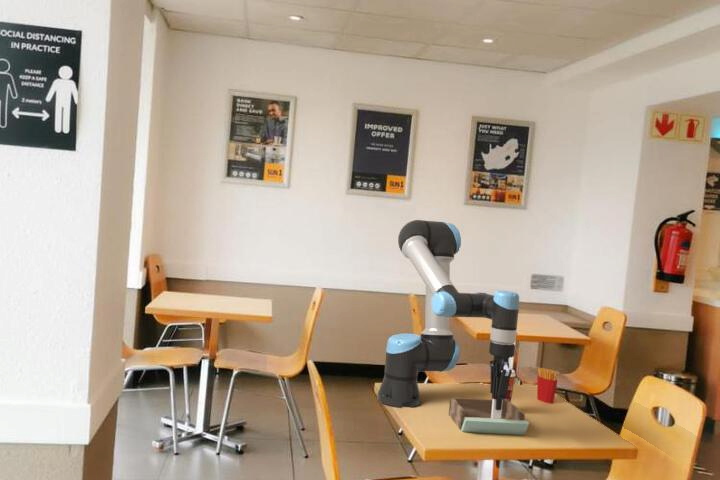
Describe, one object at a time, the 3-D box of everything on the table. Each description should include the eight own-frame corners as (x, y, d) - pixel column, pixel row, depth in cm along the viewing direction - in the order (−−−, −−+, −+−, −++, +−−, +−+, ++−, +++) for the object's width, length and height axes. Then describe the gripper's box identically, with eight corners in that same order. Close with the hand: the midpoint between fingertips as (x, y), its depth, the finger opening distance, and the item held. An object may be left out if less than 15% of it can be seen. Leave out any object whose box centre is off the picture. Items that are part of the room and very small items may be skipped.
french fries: (556, 403, 231) (560, 372, 231) (549, 404, 229) (553, 372, 228) (539, 396, 238) (542, 366, 238) (532, 397, 236) (535, 366, 236)
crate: (448, 418, 201) (450, 397, 201) (507, 421, 203) (509, 400, 203) (459, 433, 187) (461, 410, 187) (522, 436, 189) (524, 414, 189)
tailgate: (460, 429, 187) (465, 417, 184) (522, 433, 189) (527, 420, 186) (461, 433, 186) (465, 420, 183) (523, 436, 188) (529, 423, 185)
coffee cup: (512, 417, 208) (517, 373, 208) (488, 413, 210) (492, 370, 210) (511, 410, 217) (515, 368, 216) (487, 406, 218) (491, 365, 218)
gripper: (522, 347, 179) (515, 427, 180) (507, 339, 192) (500, 413, 193) (497, 345, 179) (490, 425, 179) (484, 337, 191) (477, 412, 192)
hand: (495, 419), depth 186 cm, fingers closed
